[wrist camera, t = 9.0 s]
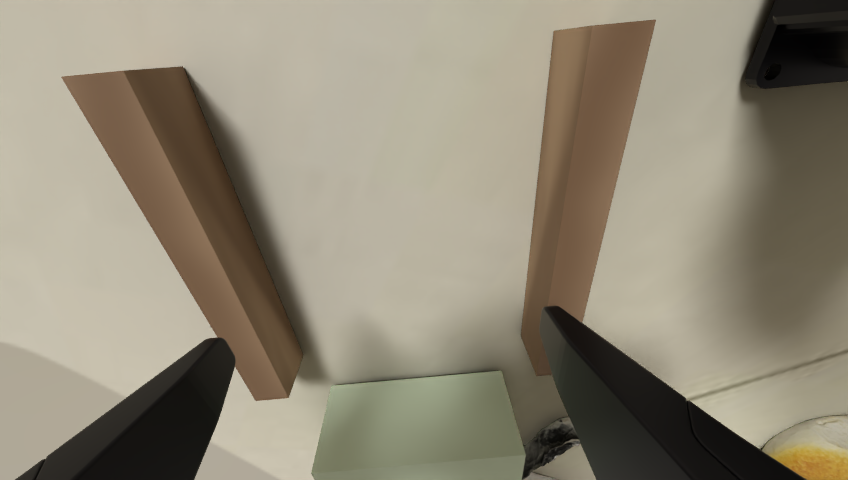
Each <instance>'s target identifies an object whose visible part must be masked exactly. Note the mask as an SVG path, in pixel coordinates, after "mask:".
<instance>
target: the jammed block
mask: <svg viewBox="0 0 848 480" xmlns="http://www.w3.org/2000/svg"><path fill="white" fill-rule="evenodd" d="M525 457H526V454H525V450H524V447H523V443H522V440H521V436H520V433H519V430H518V426H517V423H516V419H515V416H514V412H513V409H512V405H511V402H510V398H509V395H508V392H507V388H506V385H505V381H504V378H503V374H502V371H492V372H481V373H470V374H458V375H447V376H436V377H425V378H413V379H402V380H391V381H379V382H368V383H357V384H346V385H334V386H331V390H330V395H329V399H328V403H327V408H326V412H325V416H324V421H323V425H322V429H321V434H320V438H319V442H318V447H317V451H316V455H315V460H314V464H313V468H312V473H311V474H312V476H313V478H314V479H315V480H522V475H523V469H524V463H525Z"/></svg>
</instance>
